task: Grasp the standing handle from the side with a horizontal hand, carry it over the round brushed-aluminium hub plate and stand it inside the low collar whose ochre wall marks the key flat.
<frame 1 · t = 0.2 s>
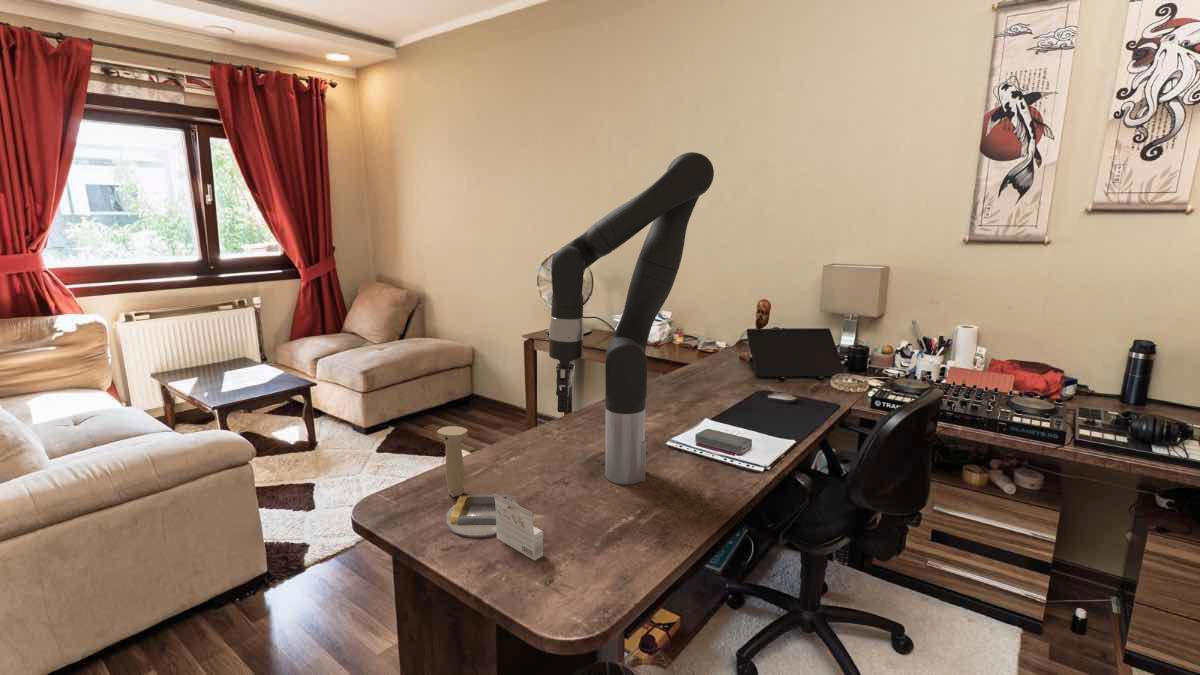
hand: (564, 405, 132), 18 cm above the table, tool pointing down, fingers open, 8 cm apart
ink cartridge box: (519, 548, 109), on the table
handle: (456, 494, 129), on the table
hub: (484, 517, 119), on the table
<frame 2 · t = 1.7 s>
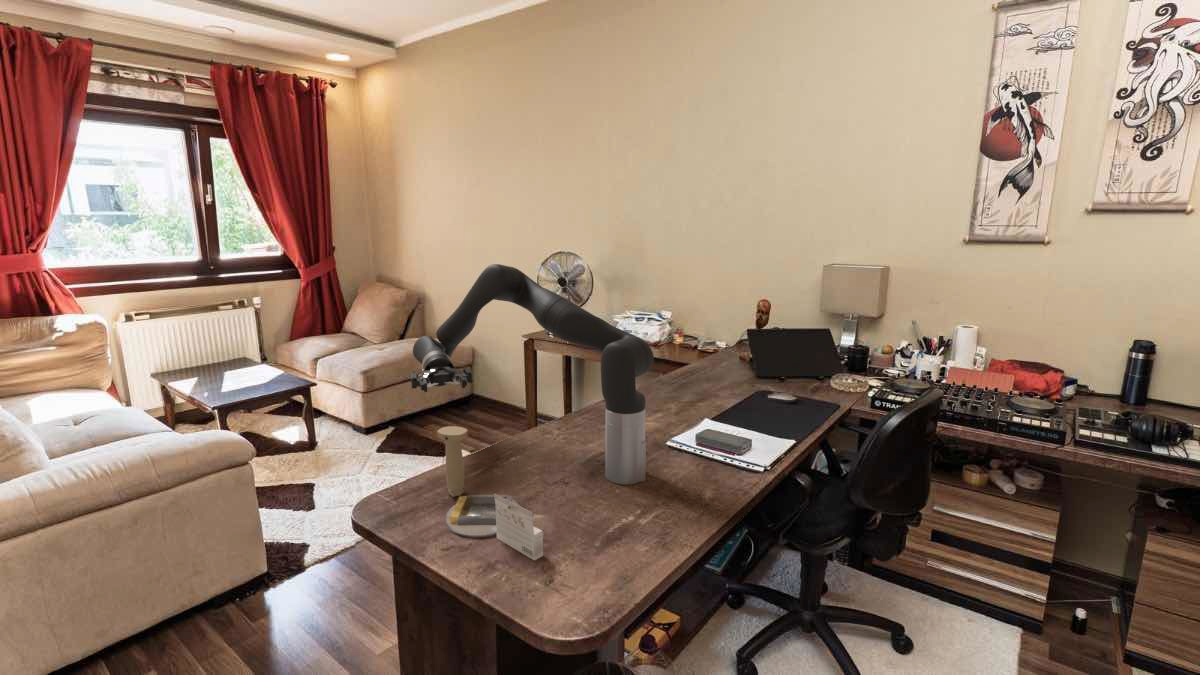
hand: (444, 386, 134), 22 cm above the table, tool horizontal, fingers open, 8 cm apart
nothing on the table moved.
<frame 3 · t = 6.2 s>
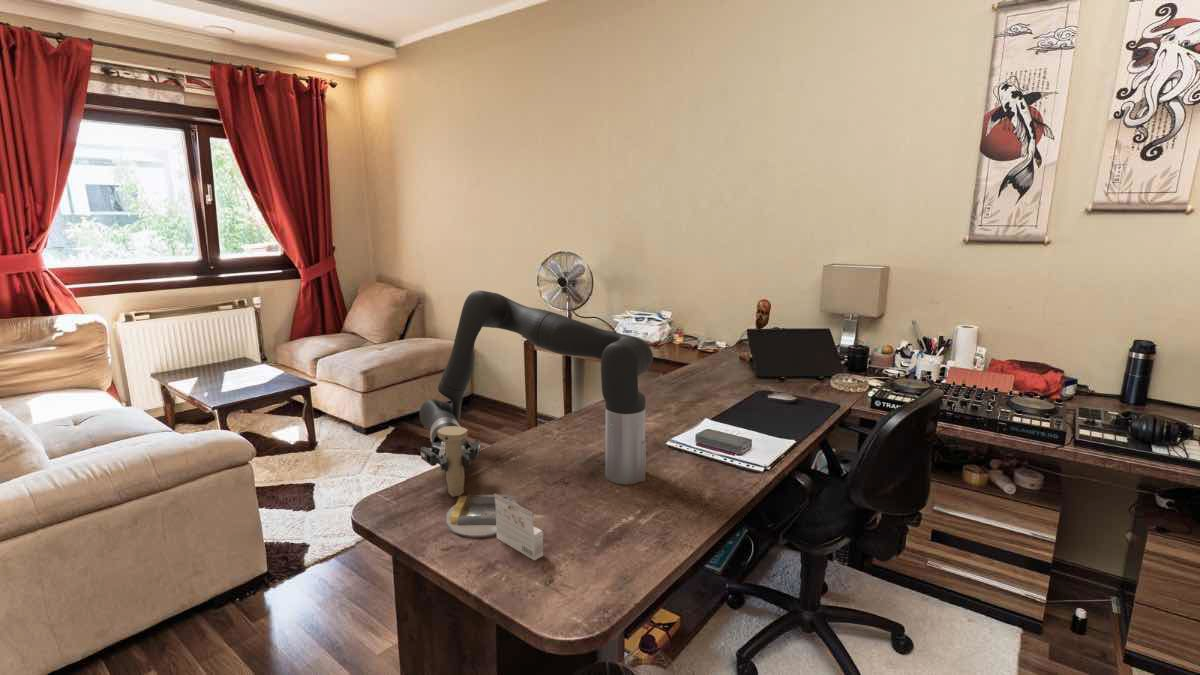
hand: (456, 465, 124), 8 cm above the table, tool horizontal, fingers closed on handle, 3 cm apart
handle: (456, 494, 129), on the table, touching gripper
everything else where it was.
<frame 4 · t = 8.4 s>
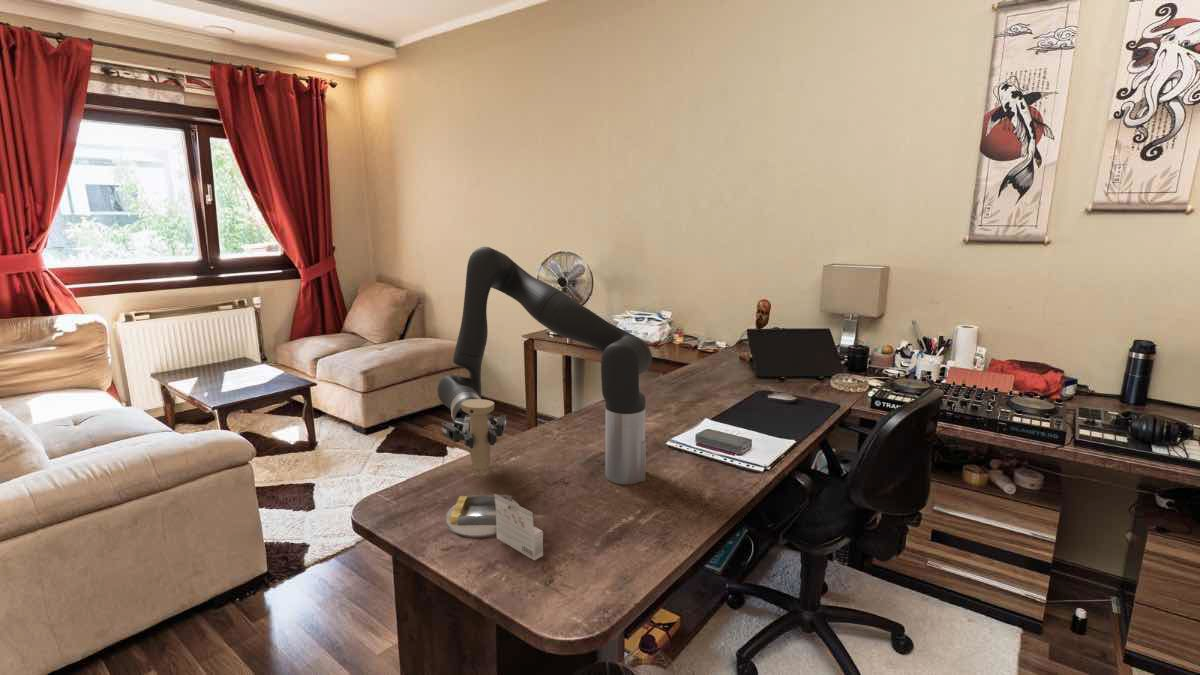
hand: (482, 441, 113), 18 cm above the table, tool horizontal, fingers closed on handle, 3 cm apart
handle: (481, 474, 117), point 9 cm above the table, touching gripper
everything else where it was.
when the fingers open (11 cm above the table, at t = 10.4 s): handle drops 2 cm, resting on hub.
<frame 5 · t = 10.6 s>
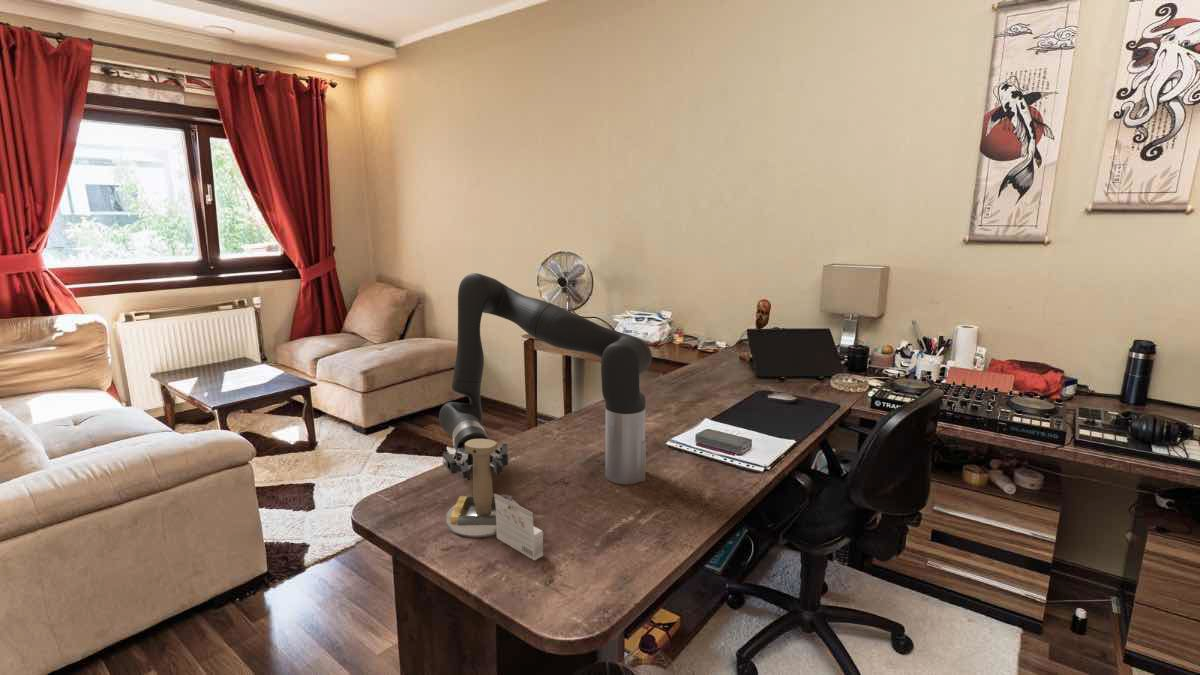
hand: (483, 473, 114), 11 cm above the table, tool horizontal, fingers open, 5 cm apart
handle: (483, 513, 119), point 1 cm above the table, touching hub
everything else where it was.
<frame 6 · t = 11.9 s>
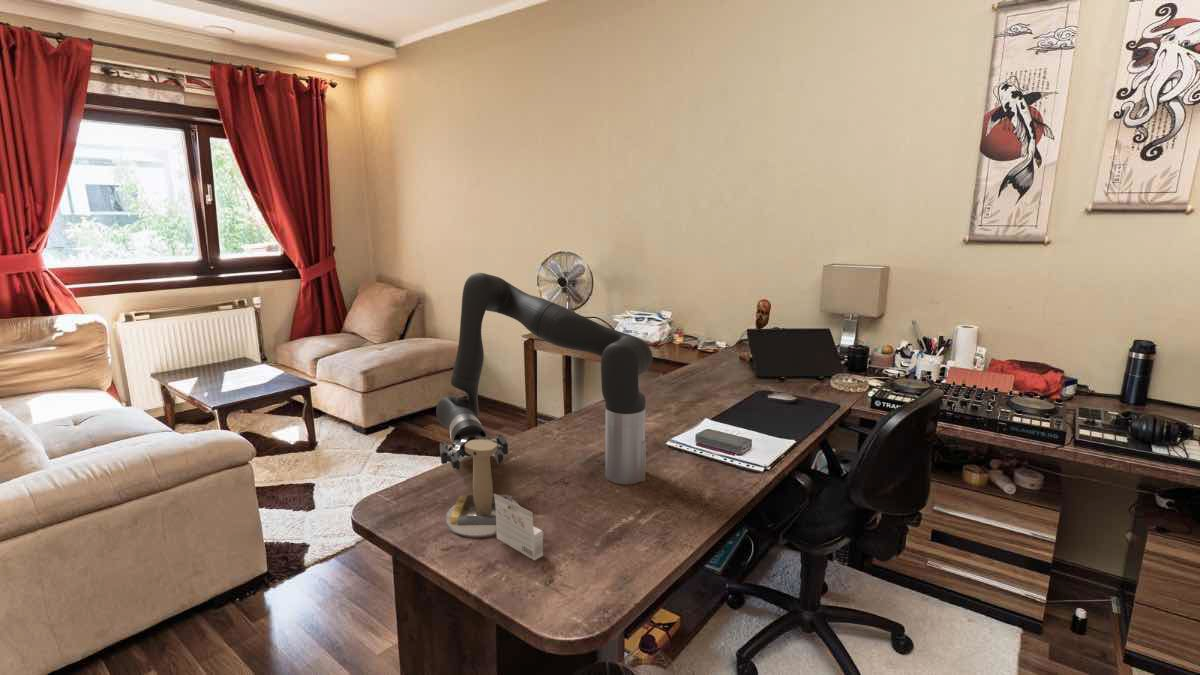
hand: (479, 462, 119), 11 cm above the table, tool horizontal, fingers open, 8 cm apart
nothing on the table moved.
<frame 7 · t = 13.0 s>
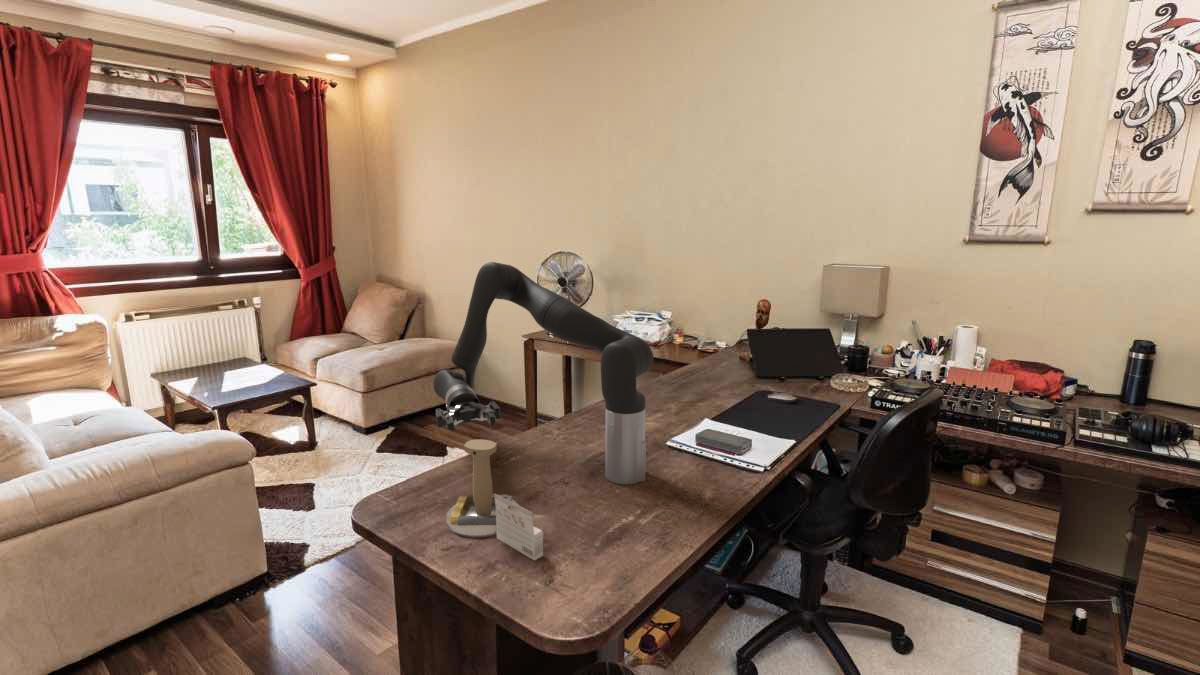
hand: (472, 424, 127), 16 cm above the table, tool horizontal, fingers open, 8 cm apart
nothing on the table moved.
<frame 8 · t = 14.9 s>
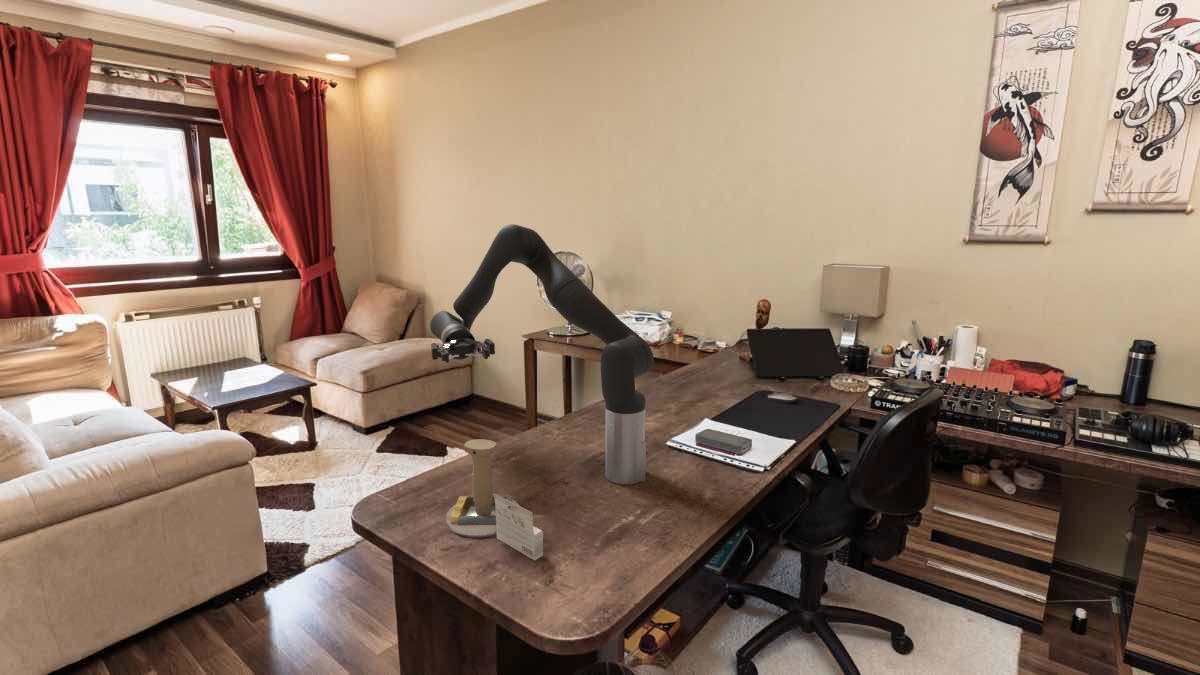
hand: (467, 356, 128), 30 cm above the table, tool horizontal, fingers open, 8 cm apart
nothing on the table moved.
at the end: handle inside the target area on the hub (0.2 cm from its centre), point 0.8 cm above the hub's base; handle tilted 0°; the gripper is holding nothing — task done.
